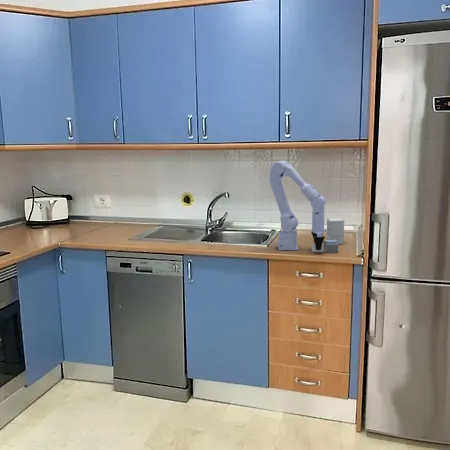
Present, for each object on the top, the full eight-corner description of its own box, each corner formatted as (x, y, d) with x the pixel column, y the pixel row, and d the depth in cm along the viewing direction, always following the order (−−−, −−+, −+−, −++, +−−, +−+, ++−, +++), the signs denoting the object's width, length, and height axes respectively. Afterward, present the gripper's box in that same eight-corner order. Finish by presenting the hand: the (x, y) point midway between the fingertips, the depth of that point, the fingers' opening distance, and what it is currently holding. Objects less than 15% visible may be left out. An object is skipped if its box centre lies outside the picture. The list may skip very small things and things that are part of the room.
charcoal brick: (326, 253, 226) (326, 245, 225) (325, 251, 228) (325, 243, 228) (337, 253, 225) (338, 245, 224) (336, 251, 228) (337, 243, 227)
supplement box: (340, 241, 249) (340, 217, 246) (343, 244, 241) (344, 220, 239) (326, 241, 248) (326, 218, 246) (329, 244, 241) (330, 220, 239)
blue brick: (327, 249, 232) (327, 241, 231) (324, 248, 235) (324, 240, 234) (337, 248, 233) (337, 241, 232) (334, 247, 236) (334, 239, 235)
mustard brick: (313, 248, 236) (314, 240, 235) (313, 246, 239) (313, 238, 238) (325, 248, 235) (325, 240, 234) (324, 246, 238) (324, 238, 237)
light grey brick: (312, 252, 228) (312, 244, 227) (311, 250, 231) (311, 242, 230) (323, 252, 228) (323, 244, 227) (323, 250, 231) (323, 242, 230)
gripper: (328, 223, 219) (327, 252, 222) (324, 218, 233) (324, 244, 236) (313, 223, 220) (312, 251, 222) (310, 218, 234) (310, 244, 236)
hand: (317, 248), depth 229 cm, fingers open, 7 cm apart
